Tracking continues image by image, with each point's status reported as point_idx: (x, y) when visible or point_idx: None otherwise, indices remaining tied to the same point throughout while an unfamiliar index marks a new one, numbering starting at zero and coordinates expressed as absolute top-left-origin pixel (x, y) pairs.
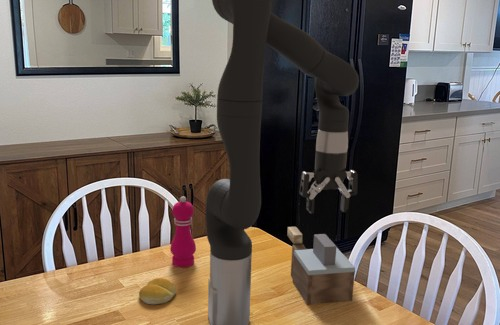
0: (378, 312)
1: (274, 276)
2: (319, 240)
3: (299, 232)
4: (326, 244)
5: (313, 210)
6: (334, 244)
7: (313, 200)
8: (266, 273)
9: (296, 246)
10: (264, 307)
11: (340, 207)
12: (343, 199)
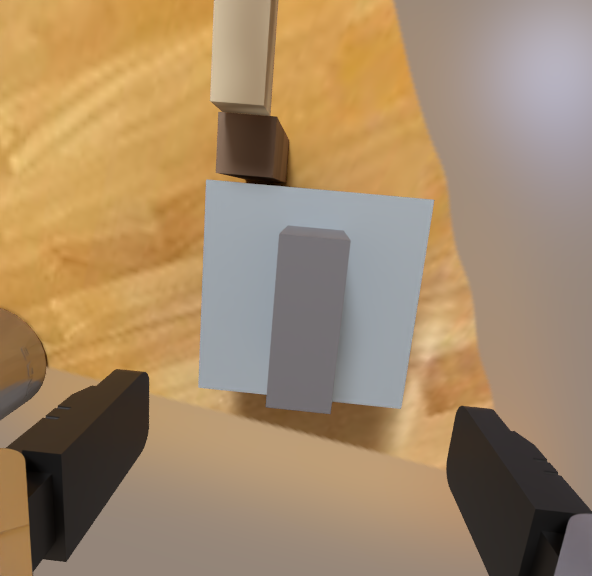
0: (419, 424)
1: (187, 126)
2: (273, 322)
3: (258, 64)
4: (287, 382)
5: (128, 465)
6: (331, 391)
7: (57, 550)
8: (164, 94)
9: (232, 138)
10: (102, 317)
11: (467, 413)
12: (503, 559)
